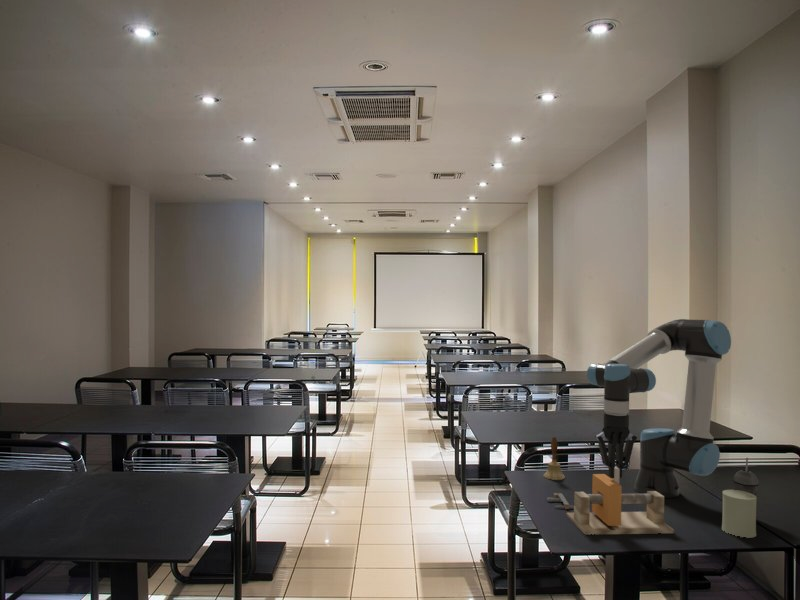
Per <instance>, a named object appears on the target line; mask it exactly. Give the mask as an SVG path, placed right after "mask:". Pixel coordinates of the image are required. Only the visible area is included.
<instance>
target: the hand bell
mask: <svg viewBox="0 0 800 600" xmlns="http://www.w3.org/2000/svg"><path fill="white" fill-rule="evenodd" d="M550 450H551V461H550V462H548V465H547V470H546V472H545V473H543V477H544V478H545V479H547V480H550V479H551V480H550V481H552V480H553V481H562V480H565V479H566V477H565V475H564V474H563V472H562V469H561V463H559V462H558V461H557V452H558V441H557V436H552V438H551V442H550Z"/></svg>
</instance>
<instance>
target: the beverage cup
mask: <svg viewBox="0 0 800 600" xmlns="http://www.w3.org/2000/svg"><path fill="white" fill-rule="evenodd" d="M748 464H749V457H745V469H740V470H739V471H736V472H735V474H734V476H733V480H732V482H733V487H734V490H740V491H745V492H748V493H751V494H753V495H755V496H756V497H757V491H759V490H758V489H759V485H760V484H759V480H758V477H757V475H756V474H755V473H753V472H752V471H751V470H749V469H748V467H749V466H748Z"/></svg>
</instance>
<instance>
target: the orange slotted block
mask: <svg viewBox="0 0 800 600" xmlns="http://www.w3.org/2000/svg"><path fill="white" fill-rule="evenodd" d="M591 481H592V486H591V487H592V489H591V492H592V493H591V494H603V504H591V512H594V513H595V514H596V515H597V516H598V517H599V518H600V519H601V520H603V521H604V522H605V523H606V524H607V525H608V526H620V525H621V512H622V504H621V497H622V494H623V492H622V491H623V490H622V485H621V484H620V483H619V484H618V483H617V482H615V481H614V480H612V479H611V478H610V477H609V475H607V474H605V473H593V474H592V480H591Z"/></svg>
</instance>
